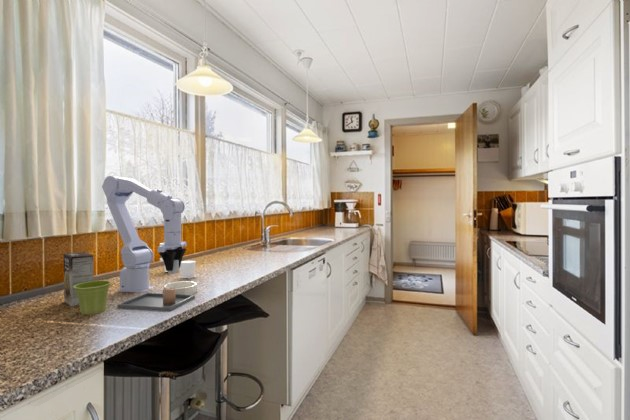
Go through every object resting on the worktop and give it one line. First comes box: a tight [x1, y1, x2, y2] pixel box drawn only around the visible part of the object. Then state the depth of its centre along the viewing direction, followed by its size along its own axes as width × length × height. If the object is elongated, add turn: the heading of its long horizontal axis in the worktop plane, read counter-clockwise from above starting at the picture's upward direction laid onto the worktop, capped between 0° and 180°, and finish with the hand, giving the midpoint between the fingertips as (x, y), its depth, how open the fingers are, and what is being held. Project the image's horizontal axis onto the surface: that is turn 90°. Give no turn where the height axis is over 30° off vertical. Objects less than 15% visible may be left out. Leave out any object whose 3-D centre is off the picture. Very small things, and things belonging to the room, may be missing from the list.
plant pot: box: [73, 279, 112, 315], centre depth 101 cm, size 9×9×9 cm
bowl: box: [163, 280, 198, 295], centre depth 122 cm, size 11×11×3 cm
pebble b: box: [162, 288, 176, 305], centre depth 109 cm, size 4×4×4 cm
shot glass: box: [179, 259, 197, 279], centre depth 149 cm, size 7×7×7 cm
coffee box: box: [63, 251, 94, 308], centre depth 111 cm, size 9×6×16 cm
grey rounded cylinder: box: [167, 259, 180, 275], centre depth 122 cm, size 4×4×4 cm
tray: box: [117, 292, 196, 312], centre depth 110 cm, size 18×14×2 cm
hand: (173, 269), depth 122 cm, fingers closed on grey rounded cylinder, 4 cm apart
